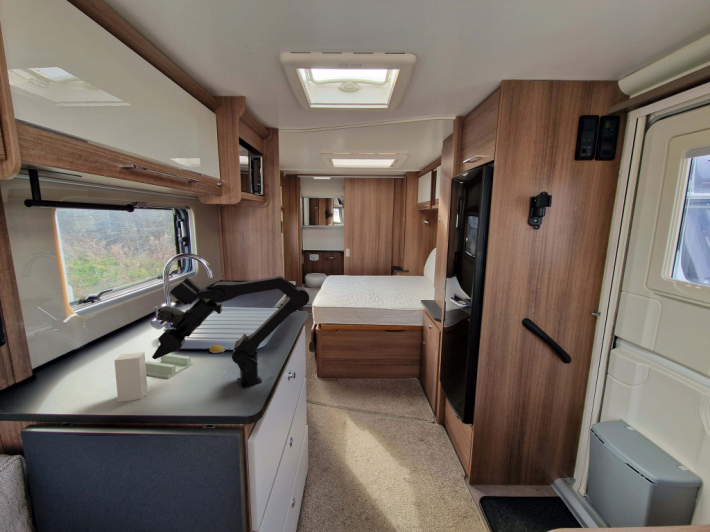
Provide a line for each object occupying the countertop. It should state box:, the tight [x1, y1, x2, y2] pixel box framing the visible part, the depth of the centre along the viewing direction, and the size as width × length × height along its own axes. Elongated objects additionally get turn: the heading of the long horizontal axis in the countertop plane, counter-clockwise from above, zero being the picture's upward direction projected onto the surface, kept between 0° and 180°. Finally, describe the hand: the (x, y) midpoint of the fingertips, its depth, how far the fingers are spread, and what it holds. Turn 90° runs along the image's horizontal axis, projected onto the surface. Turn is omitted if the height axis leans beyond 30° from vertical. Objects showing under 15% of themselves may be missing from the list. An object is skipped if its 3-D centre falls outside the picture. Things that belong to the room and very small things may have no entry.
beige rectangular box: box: [113, 351, 149, 403], centre depth 84 cm, size 6×4×13 cm, turn 107°
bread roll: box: [209, 345, 226, 354], centre depth 119 cm, size 8×9×4 cm
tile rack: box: [145, 353, 195, 380], centre depth 101 cm, size 12×11×4 cm
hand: (159, 351), depth 85 cm, fingers open, 9 cm apart
